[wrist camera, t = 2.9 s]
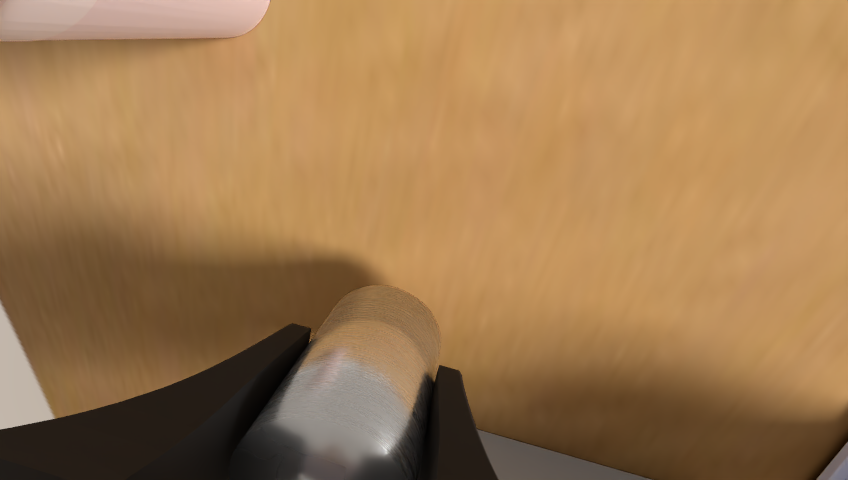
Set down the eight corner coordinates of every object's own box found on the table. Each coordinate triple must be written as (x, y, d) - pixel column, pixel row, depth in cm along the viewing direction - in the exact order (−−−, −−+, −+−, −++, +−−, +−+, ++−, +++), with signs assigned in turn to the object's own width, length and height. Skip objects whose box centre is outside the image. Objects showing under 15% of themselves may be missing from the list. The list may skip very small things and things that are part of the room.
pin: (453, 303, 13) (431, 454, 8) (426, 397, 15) (390, 582, 9) (337, 271, 14) (234, 396, 8) (321, 367, 15) (224, 529, 9)
